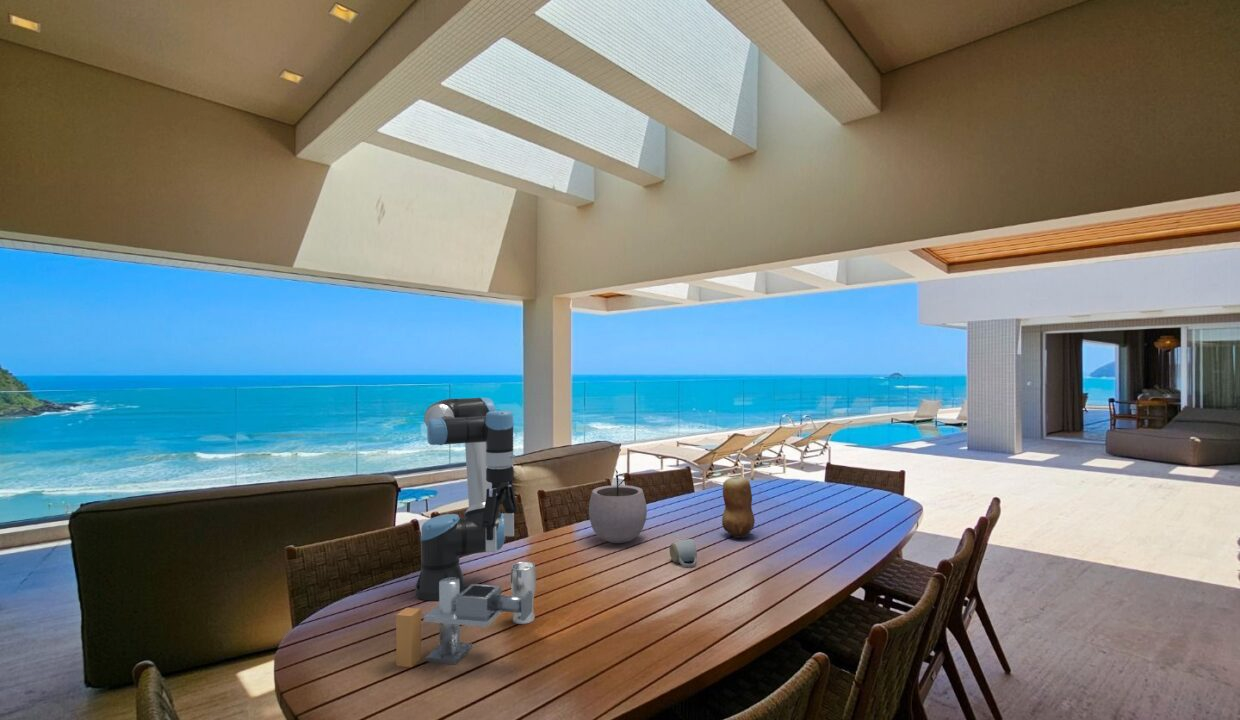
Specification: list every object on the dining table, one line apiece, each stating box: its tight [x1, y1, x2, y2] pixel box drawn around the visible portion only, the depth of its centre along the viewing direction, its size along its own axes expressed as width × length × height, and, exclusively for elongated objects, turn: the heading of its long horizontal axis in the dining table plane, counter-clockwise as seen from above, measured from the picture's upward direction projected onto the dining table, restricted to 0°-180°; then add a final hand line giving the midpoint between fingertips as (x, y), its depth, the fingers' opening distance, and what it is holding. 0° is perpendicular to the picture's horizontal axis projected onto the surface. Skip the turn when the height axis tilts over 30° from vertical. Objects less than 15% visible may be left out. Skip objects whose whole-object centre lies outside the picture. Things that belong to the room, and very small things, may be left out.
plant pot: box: [588, 468, 648, 544], centre depth 219 cm, size 24×24×30 cm
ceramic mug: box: [669, 538, 698, 569], centre depth 193 cm, size 11×8×8 cm
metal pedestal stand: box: [423, 577, 502, 665], centre depth 131 cm, size 16×10×18 cm, turn 78°
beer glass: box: [510, 561, 537, 625], centre depth 150 cm, size 7×7×15 cm
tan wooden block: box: [395, 607, 422, 668], centre depth 128 cm, size 4×4×12 cm
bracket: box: [456, 583, 532, 621], centre depth 129 cm, size 17×8×5 cm, turn 78°
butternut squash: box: [721, 476, 755, 539], centre depth 222 cm, size 14×13×25 cm
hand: (500, 543), depth 147 cm, fingers open, 13 cm apart
